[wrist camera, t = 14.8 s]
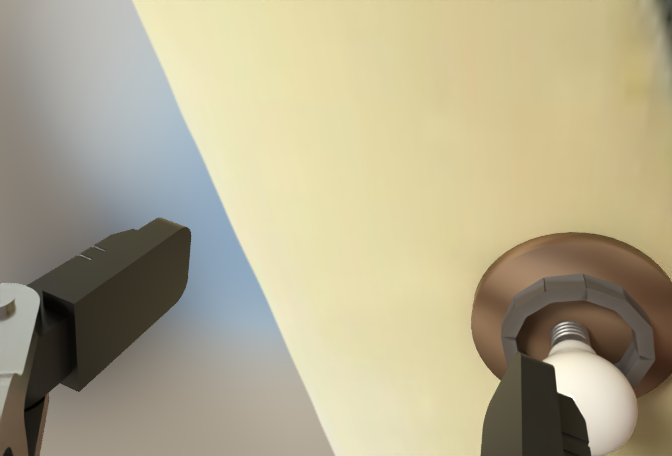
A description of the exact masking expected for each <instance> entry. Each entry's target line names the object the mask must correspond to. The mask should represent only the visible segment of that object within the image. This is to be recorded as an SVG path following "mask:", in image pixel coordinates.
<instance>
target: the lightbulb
mask: <svg viewBox="0 0 672 456" xmlns="http://www.w3.org/2000/svg"><path fill="white" fill-rule="evenodd" d="M550 342H551V350H550V352H549V355H548V357H547V358H545V359H544V360H543V362H546V363H549V364H551V365H553V366H554V368H555V375H556V385H557V392H558V393H561V394H563V395H566V396H568V397H571V398H573V400H574V402H575V403H576V405H577V407H578V408H579V410H580V412H581V414H582V415H583V417H584V419H585V420H586V426H587V432H588V438H589V444H588V446H589V447H590V450H591V456H604V455H608V454H610V453H613V452H615V451H616V450H618V449H619V448H621V447H622V446H623V445H624V444H625V443H626V442H627V441H628V440H629V439H630V437H631V436H632V434H633V432H634V430H635V427H636V424H637V419H638V404H637V399H636V396H635V393H634V390H633V388H632V386H631V384H630V383H629V381H628V379H627V378H626V377H625V375H624V374H623V373H622V372H621V371H620V370H619V369H618V368H617V367H616V366H615V365H613V364H612V363H611V362H609V361H608V360H606V359H604V358H603V357H601V356H599V355H597V354H596V352H595V351H594V350H593V349H592V348H591V343H590V339H589V334H588V331H587V329H586V328H585V327H584V326H583V325H582V324H580V323H578V322H575V321H562V322H559V323H557V324H555V325H554V326H553V327H552V329H551V331H550Z"/></svg>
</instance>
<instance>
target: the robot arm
mask: <svg viewBox="0 0 672 456" xmlns="http://www.w3.org/2000/svg"><path fill="white" fill-rule="evenodd" d="M190 245H191V232H190V229H189V228H187V227H185V226H182V225H179V224H177V223H174V222H171V221H168V220H166V219H163V218H157V219H155V220H153V221H152V222H150V223H148V224H147V225H145V226H144V227H142V228H140V229H139V230H135V229H131V230H128V231H124V232H120V233H117V234H113V235H110V236H109V237H107V238H105V239H104V240H102V241H101V242H99V243H97V244H95V245H94V247H93V248H92V247H90V248H89V249H87V250H85V251H84V252H82V253H81V254H80V256H75V257H74V258H72V259H71V260H69V261H67V262H65V263H64V264H62V265H60V266H59V267H57V268H55V269H54V270H52V271H50V272H49V273H47V274H45V275H44V276H42V277H40V278H39V279H37V280H35V281H34V282H32V283H30V284H29V285H27V286H24V285H21V284H15V283H0V456H40V451H41V445H42V439H43V434H44V428H45V423H46V417H47V411H48V405H49V392H50V391H51V390H52V389H53V388H54V387H56V386H57V385H58V384H59V383H61V384H63V385H65V386H67V387H69V388H71V389H74V390H76V391H78V392H79V391H81V390H82V389H83V388H84V387H85V386H86V385H87V384H88V383H89V382H90V381H91V380H93V379H94V378H95V377H96V376H97V375H98V374H99V373H100V372H101V371H102V370H104V369H105V368H106V367H107V366H108V365H109V364H110V363H111V362H112V361H113V360H114V359H115V358H117V357H118V356H119V355H120V354H121V353H122V352H123V351H124V350H125V349H126V348H128V347H129V346H130V345H131V344H132V343H133V342H134V341H135V340H136V339H137V338H139V336H141V335H142V334H143V333H144V332H145V331H146V330H147V329H148V328H149V327H151V325H153V324H154V323H155V322H156V321H157V320H158V319H159V318H160V317H161V316H163V315H164V314H165V313H166V312H167V311H168V310H169V309H170V308H171V307H172V306H174V305H175V304H176V303H177V302H178V300H179V299H180V298H181V296H182V294H183V292H184V290H185V288H186V285H187V280H188V269H189V257H190ZM588 444H589V438H588V432H587V426H586V420H585V419H584V417H583V415H582V414H581V412H580V410H579V408H578V407H577V405H576V403H575V402H574V400H573V398H571V397H568V396H566V395H563V394H561V393H558V392H557V385H556V375H555V368H554V366H553V365H551V364H549V363H546V362H543V361H541V360H538V359H535V358H533V357H530V356H527V355H525V354H522V353H519V352H518V353H516V354H515V355H514V357H513V359H512V360H511V362H510V364H509V366H508V368H507V370H506V372H505V374H504V376H503V378H502V380H501V382H500V384H499V386H498V388H497V389H496V391H495V393H494V395H493V397H492V399H491V401H490V404H489V406H488V409H487V412H486V415H485V419H484V424H483V432H482V445H481V456H591V450H590V447H589V446H588Z"/></svg>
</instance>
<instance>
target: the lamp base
mask: <svg viewBox="0 0 672 456" xmlns="http://www.w3.org/2000/svg"><path fill="white" fill-rule="evenodd" d="M562 321H575V322H578V323H580V324H582V325H583V326H584V327H585V328H586V329H587V331H588V334H589V339H590V343H591V348H592V349H593V350H594V351H595V352H596V354H597V355H599V356H601V357H603V358H604V359H606V360H608V361H609V362H611V363H612V364H613V365H615V366H616V367H617V368H618V369H619V370H620V371H621V372H622V373H623V374H624V375H625V377H626V378H627V379H628V381H629V383H630V384H631V386H632V388H633V390H634V393H635V396H636V398H638V397H640V396H642V395H644V394H646V393H648V392H649V391H651V390H652V389H654V388H655V387H657V386H658V385H659V384H661V383H662V382H663V381H664V380H665V379H666V378H667V377H668V376H669V375H670V374H671V373H672V283H671V281H670V279H669V278H668V276H667V275H666V274H665V272H664V271H663V270H662V269H661V267H660V266H659V265H658V264H656V263H655V262H654V261H653V260H652V259H651V258H650V257H648V256H647V255H646V254H644V253H643V252H641V251H640V250H638V249H636V248H634V247H632V246H631V245H629V244H627V243H624V242H621V241H619V240H616V239H614V238H610V237H606V236H602V235H597V234H590V233H575V232H569V233H556V234H551V235H545V236H541V237H538V238H534V239H531V240H528V241H526V242H524V243H522V244H519V245H517V246H515V247H514V248H512V249H510V250H509V251H507V252H506V253H504V254H503V255H502V256H501V257H499V258H498V259H497V260H496V261H495V262H494V263H493V264H492V265H491V266H490V267H489V268H488V270H487V271H486V272H485V274H484V275H483V277H482V279H481V281H480V282H479V284H478V287H477V290H476V293H475V297H474V303H473V310H472V317H471V329H472V335H473V340H474V343H475V346H476V349H477V351H478V353H479V355H480V357H481V358H482V360H483V361H484V363H485V364H486V366H487V367H488V368H489V369H490V370H491V372H492V373H493V374H494V375H495V376H496V377H498V378H499V379H500V380H502V378H503V376H504V374H505V372H506V370H507V368H508V366H509V364H510V362H511V360H512V359H513V357H514V355H515V354H516V353H518V352H519V353H522V354H525V355H527V356H530V357H533V358H535V359H538V360H541V361H543V360H544V359H545V358H547V357H548V355H549V352H550V350H551V342H550V331H551V329H552V327H553V326H554V325H555V324H557V323H559V322H562Z"/></svg>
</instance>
